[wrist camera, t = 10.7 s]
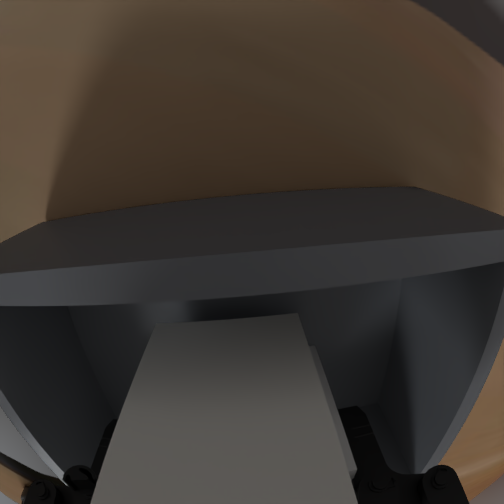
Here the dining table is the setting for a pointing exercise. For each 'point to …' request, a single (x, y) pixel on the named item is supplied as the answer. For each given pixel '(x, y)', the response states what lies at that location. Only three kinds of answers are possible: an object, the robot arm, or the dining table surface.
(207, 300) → the bin
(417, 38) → the dining table surface
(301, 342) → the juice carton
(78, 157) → the dining table surface
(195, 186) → the dining table surface
